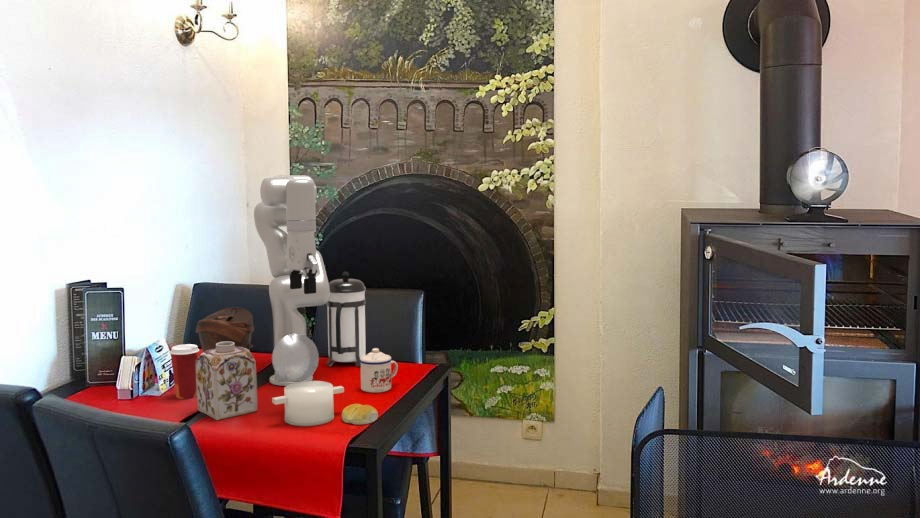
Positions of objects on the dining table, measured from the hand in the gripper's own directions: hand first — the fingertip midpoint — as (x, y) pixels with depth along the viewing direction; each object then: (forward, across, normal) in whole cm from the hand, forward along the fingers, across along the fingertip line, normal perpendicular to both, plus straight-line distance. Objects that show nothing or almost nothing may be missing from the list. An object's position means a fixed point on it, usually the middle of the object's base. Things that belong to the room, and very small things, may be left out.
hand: (302, 291), depth 200 cm
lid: (+16, +6, -5) cm, 18 cm away
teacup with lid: (+31, -1, +23) cm, 38 cm away
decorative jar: (+31, -4, -20) cm, 37 cm away
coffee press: (+31, -32, +28) cm, 52 cm away
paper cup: (+31, -24, -25) cm, 46 cm away
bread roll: (+31, +22, +6) cm, 38 cm away
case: (+31, -51, -6) cm, 60 cm away
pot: (+30, +14, -4) cm, 33 cm away
